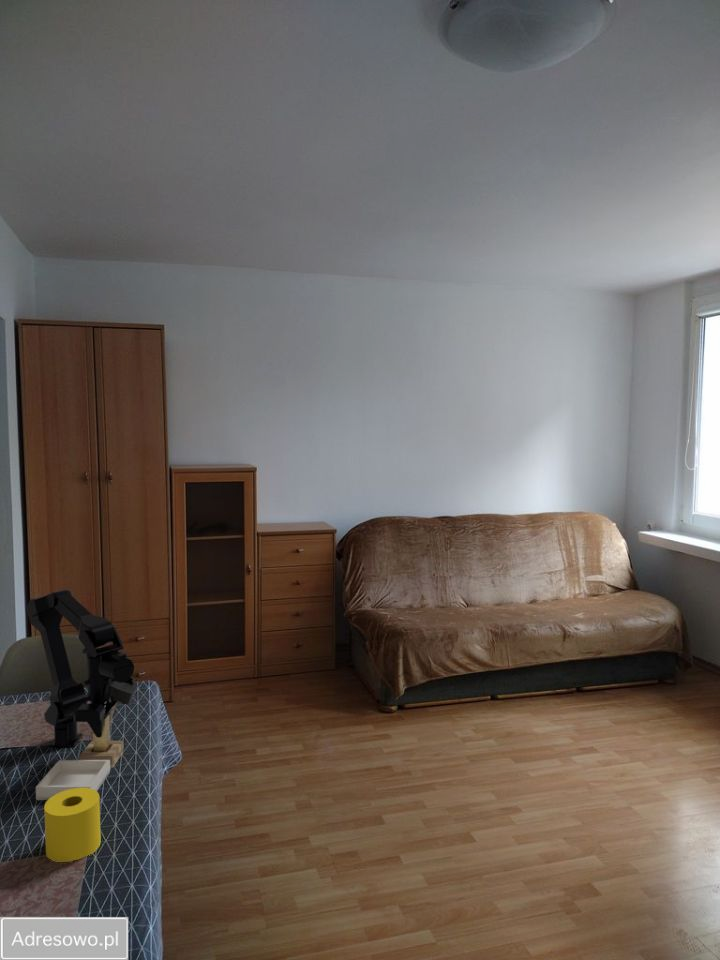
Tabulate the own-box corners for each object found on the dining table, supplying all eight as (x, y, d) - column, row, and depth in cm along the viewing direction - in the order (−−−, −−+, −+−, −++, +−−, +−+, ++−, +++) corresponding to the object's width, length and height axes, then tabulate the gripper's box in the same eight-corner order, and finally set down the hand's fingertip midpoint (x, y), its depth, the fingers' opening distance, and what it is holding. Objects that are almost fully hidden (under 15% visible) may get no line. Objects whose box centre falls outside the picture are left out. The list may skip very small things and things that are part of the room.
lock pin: (98, 748, 170) (97, 714, 170) (110, 748, 170) (109, 714, 170) (93, 754, 167) (92, 719, 167) (105, 754, 167) (104, 719, 167)
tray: (59, 772, 163) (58, 760, 163) (110, 771, 163) (110, 759, 163) (36, 800, 151) (35, 787, 151) (91, 799, 151) (90, 786, 151)
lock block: (91, 752, 173) (91, 740, 173) (123, 752, 173) (123, 740, 173) (79, 768, 165) (79, 756, 165) (112, 767, 165) (112, 755, 165)
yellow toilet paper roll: (66, 869, 128) (65, 821, 127) (35, 851, 133) (33, 805, 132) (111, 842, 136) (110, 796, 135) (80, 826, 141) (78, 782, 140)
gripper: (119, 687, 158) (121, 751, 159) (143, 659, 177) (145, 717, 178) (71, 687, 158) (73, 752, 159) (100, 660, 177) (102, 718, 178)
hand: (101, 734), depth 169 cm, fingers closed on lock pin, 3 cm apart
